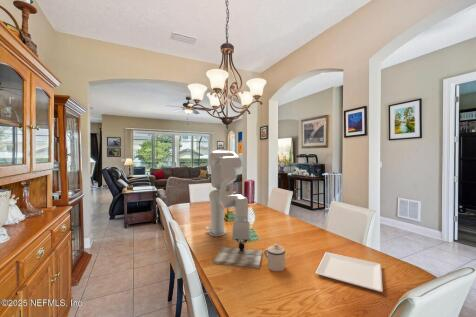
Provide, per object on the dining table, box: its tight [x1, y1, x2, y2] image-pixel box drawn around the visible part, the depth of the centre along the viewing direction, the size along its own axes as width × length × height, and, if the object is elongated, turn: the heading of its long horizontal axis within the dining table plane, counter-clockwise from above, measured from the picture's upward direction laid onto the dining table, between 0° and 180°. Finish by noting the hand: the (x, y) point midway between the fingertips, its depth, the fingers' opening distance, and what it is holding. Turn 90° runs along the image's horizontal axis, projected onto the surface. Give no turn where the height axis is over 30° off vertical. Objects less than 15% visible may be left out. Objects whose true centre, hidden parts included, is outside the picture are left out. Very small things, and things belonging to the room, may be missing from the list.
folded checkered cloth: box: [219, 246, 263, 259], centre depth 124 cm, size 24×6×2 cm, turn 78°
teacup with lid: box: [263, 243, 286, 272], centre depth 110 cm, size 12×9×12 cm
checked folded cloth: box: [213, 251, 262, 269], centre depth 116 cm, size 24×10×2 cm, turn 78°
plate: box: [315, 251, 383, 293], centre depth 105 cm, size 26×26×2 cm
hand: (241, 249), depth 126 cm, fingers closed
